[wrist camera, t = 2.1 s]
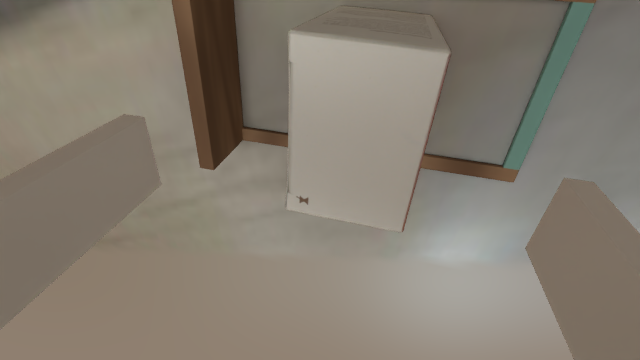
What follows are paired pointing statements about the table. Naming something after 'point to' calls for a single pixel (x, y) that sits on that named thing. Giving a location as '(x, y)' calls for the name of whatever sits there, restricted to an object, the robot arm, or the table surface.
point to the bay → (227, 132)
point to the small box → (361, 112)
